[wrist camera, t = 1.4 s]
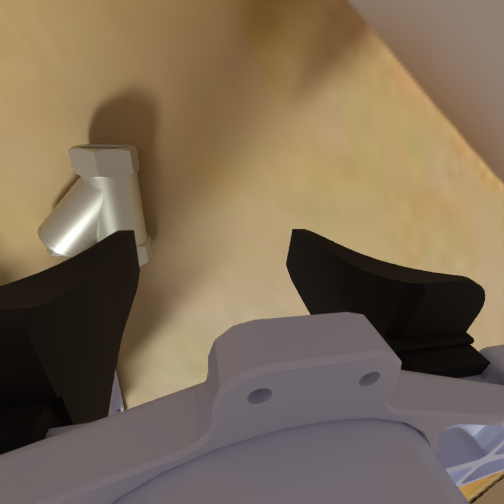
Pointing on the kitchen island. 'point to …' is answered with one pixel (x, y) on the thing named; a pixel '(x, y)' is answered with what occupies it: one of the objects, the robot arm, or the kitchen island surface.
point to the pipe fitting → (98, 202)
